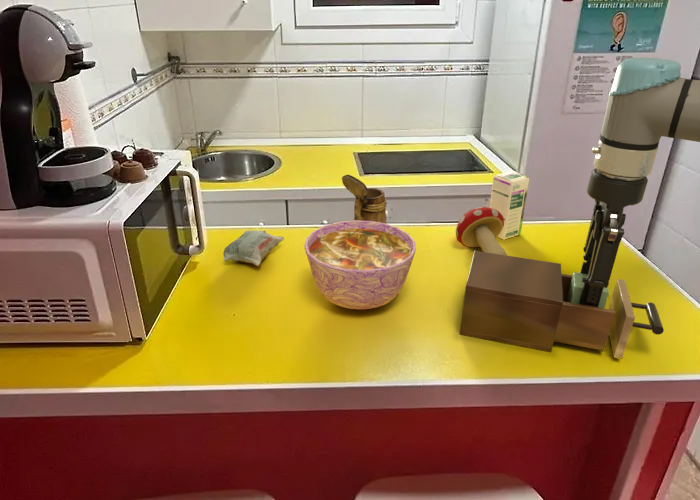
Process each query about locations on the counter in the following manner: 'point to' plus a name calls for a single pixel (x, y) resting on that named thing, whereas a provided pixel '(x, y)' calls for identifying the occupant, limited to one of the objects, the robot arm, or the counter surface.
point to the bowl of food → (359, 262)
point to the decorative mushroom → (481, 229)
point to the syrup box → (510, 201)
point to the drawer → (603, 320)
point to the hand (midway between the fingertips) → (584, 306)
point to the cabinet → (512, 300)
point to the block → (577, 289)
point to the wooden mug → (366, 200)
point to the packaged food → (251, 247)
